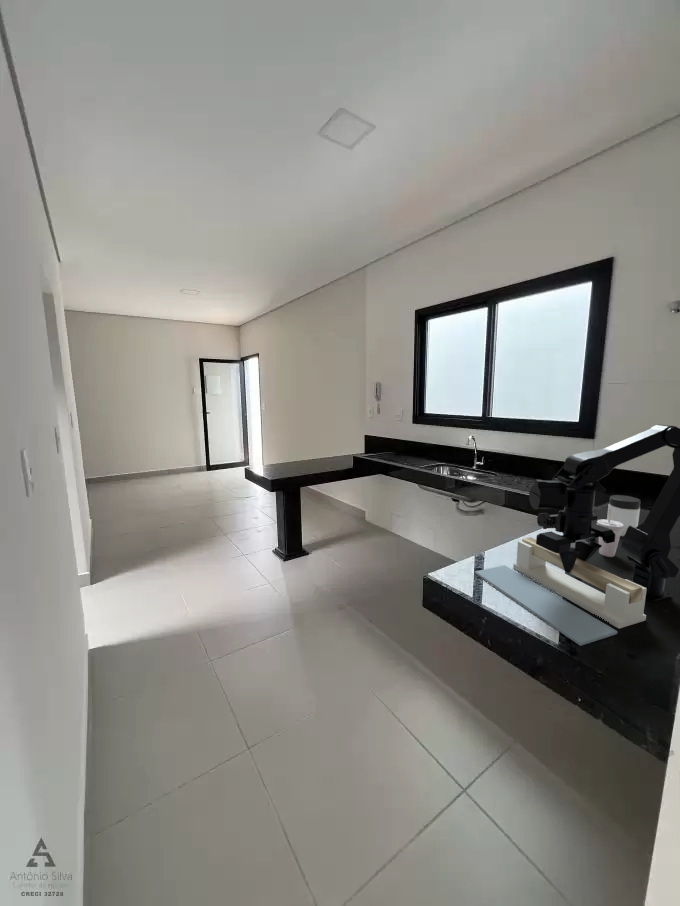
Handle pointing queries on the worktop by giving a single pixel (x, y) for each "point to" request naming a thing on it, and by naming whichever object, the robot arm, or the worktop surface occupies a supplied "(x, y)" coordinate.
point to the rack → (583, 590)
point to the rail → (587, 571)
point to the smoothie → (617, 527)
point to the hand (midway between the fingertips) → (572, 571)
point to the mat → (547, 606)
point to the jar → (624, 511)
